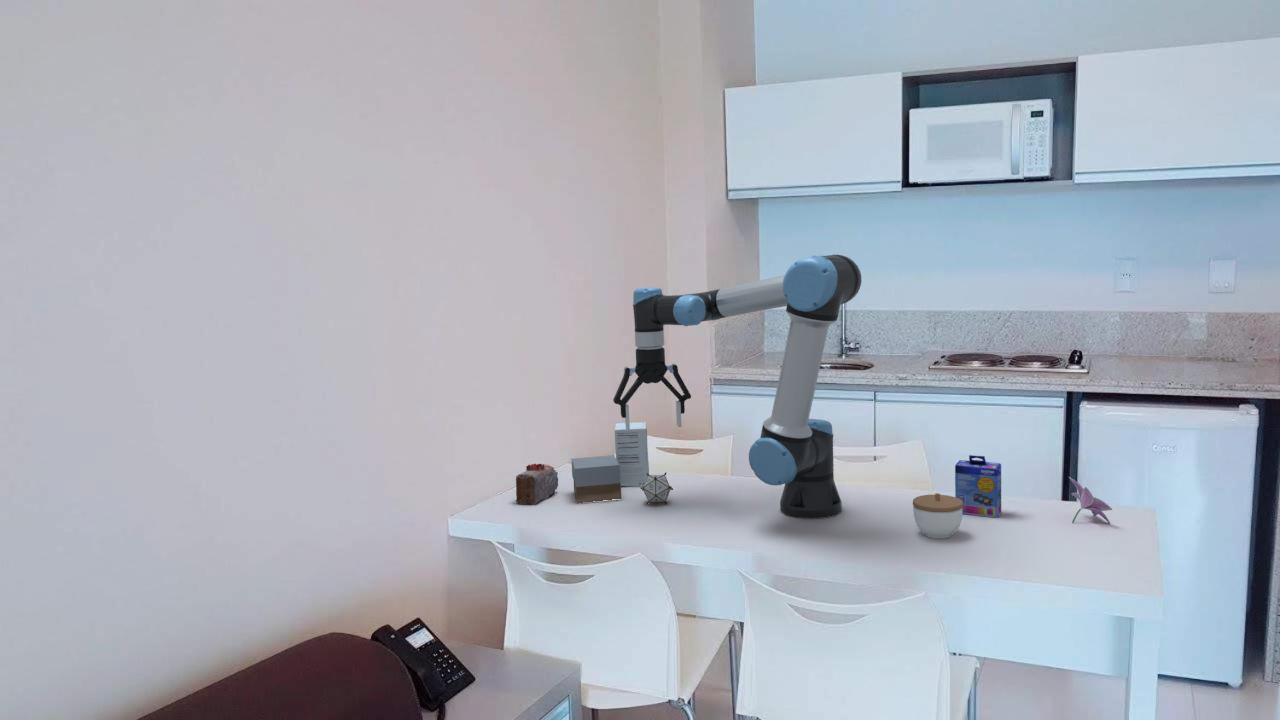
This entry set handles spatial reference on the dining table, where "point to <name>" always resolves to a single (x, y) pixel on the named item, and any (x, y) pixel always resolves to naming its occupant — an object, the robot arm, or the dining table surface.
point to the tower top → (595, 471)
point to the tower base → (597, 492)
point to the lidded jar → (937, 514)
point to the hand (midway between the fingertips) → (653, 428)
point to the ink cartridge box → (979, 486)
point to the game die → (656, 488)
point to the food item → (536, 484)
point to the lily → (1089, 501)
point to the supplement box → (632, 453)
